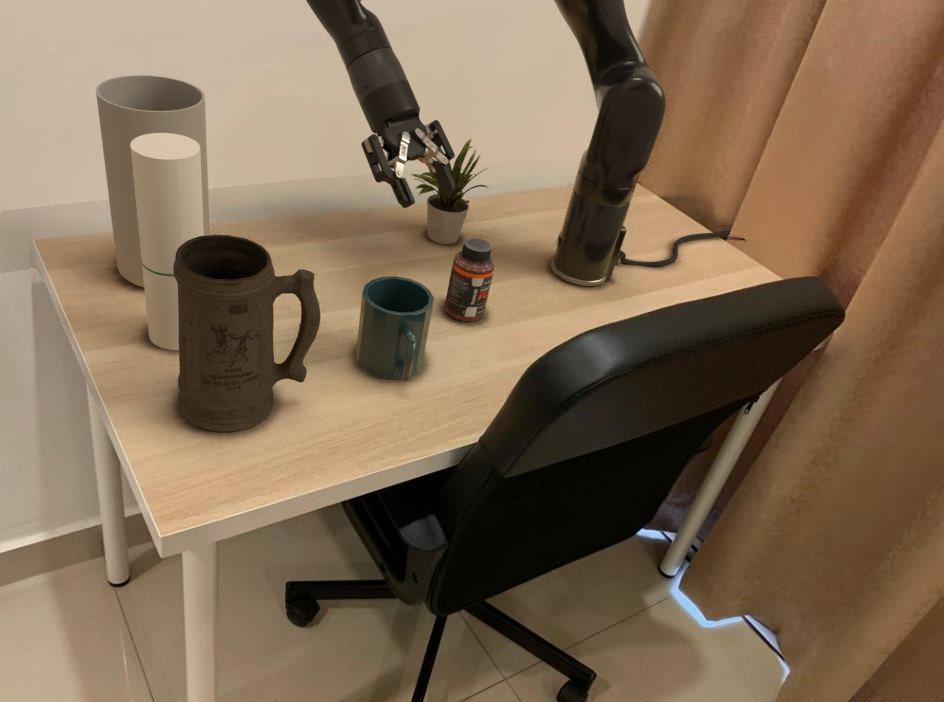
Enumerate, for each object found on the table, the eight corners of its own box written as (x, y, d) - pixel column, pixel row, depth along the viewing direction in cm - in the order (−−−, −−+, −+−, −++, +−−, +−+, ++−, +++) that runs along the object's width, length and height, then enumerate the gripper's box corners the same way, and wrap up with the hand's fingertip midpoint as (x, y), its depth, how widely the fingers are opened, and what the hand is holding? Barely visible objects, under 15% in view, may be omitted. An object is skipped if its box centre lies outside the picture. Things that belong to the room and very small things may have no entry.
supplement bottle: (479, 327, 111) (495, 259, 104) (440, 317, 111) (452, 248, 104) (486, 306, 115) (502, 239, 108) (448, 297, 116) (461, 229, 109)
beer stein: (178, 440, 84) (182, 283, 72) (165, 380, 91) (166, 228, 79) (315, 426, 90) (339, 281, 79) (292, 371, 98) (311, 230, 86)
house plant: (412, 206, 138) (424, 117, 128) (486, 224, 137) (505, 135, 127) (391, 241, 127) (403, 145, 117) (472, 261, 126) (491, 166, 116)
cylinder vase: (194, 242, 116) (186, 74, 101) (223, 284, 109) (219, 109, 94) (107, 253, 110) (84, 76, 95) (131, 299, 103) (111, 114, 87)
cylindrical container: (216, 343, 98) (210, 156, 83) (159, 355, 94) (142, 162, 79) (196, 313, 102) (187, 130, 87) (141, 324, 99) (121, 135, 83)
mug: (349, 341, 103) (356, 277, 97) (412, 337, 106) (422, 275, 100) (370, 398, 95) (378, 331, 88) (437, 392, 98) (450, 328, 91)
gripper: (360, 84, 100) (411, 200, 102) (434, 72, 109) (479, 178, 111) (330, 110, 106) (379, 220, 107) (403, 97, 115) (447, 198, 117)
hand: (430, 199), depth 109 cm, fingers open, 8 cm apart
